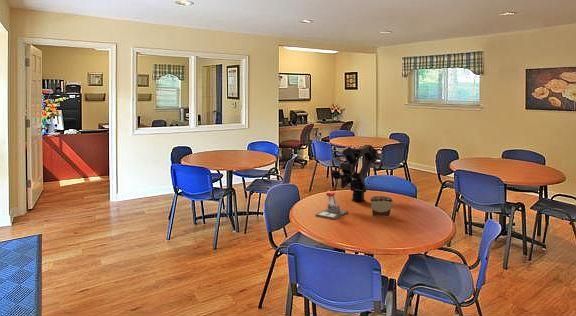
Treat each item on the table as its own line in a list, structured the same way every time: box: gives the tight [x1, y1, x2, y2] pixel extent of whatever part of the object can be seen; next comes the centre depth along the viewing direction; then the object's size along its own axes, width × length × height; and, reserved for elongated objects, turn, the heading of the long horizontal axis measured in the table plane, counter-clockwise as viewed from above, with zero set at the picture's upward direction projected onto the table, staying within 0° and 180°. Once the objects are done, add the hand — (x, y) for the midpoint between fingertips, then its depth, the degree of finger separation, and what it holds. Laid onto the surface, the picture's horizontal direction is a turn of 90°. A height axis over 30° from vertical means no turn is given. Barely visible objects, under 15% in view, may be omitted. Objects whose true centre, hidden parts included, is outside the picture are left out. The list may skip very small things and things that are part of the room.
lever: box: [326, 190, 337, 209], centre depth 235 cm, size 2×4×11 cm, turn 54°
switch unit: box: [315, 203, 349, 221], centre depth 236 cm, size 16×12×5 cm
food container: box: [369, 195, 394, 217], centre depth 235 cm, size 12×6×10 cm, turn 84°
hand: (342, 187), depth 245 cm, fingers closed
